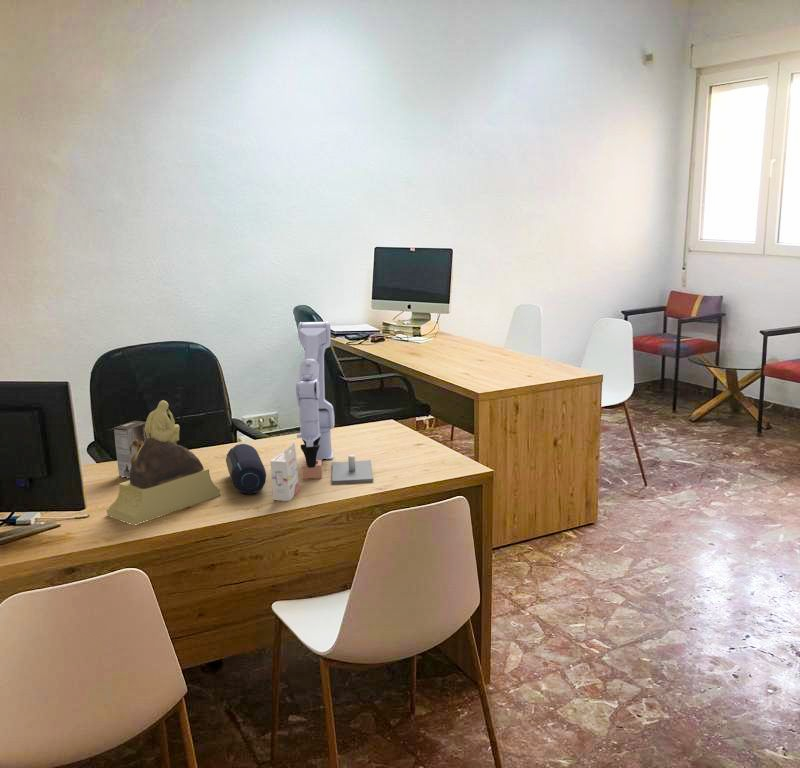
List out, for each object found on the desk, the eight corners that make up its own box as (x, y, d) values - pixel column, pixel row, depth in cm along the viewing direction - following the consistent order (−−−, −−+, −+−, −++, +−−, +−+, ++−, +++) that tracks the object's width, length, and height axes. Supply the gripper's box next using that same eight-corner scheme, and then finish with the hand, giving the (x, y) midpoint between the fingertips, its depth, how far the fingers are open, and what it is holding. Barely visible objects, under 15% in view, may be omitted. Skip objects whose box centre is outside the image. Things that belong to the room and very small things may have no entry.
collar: (303, 473, 254) (303, 460, 253) (322, 472, 255) (321, 459, 254) (303, 479, 249) (302, 466, 248) (321, 478, 249) (321, 465, 248)
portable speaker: (226, 473, 257) (223, 442, 255) (258, 469, 260) (256, 438, 258) (233, 499, 233) (231, 465, 231) (269, 495, 236) (267, 461, 234)
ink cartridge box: (282, 490, 239) (279, 441, 236) (299, 491, 238) (296, 442, 235) (272, 501, 231) (268, 450, 228) (289, 501, 230) (286, 450, 227)
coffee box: (140, 468, 264) (135, 419, 261) (155, 471, 261) (150, 421, 258) (118, 477, 257) (112, 427, 253) (133, 479, 253) (127, 429, 250)
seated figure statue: (192, 487, 245) (183, 388, 239) (220, 495, 237) (211, 393, 231) (107, 516, 224) (94, 408, 218) (134, 526, 216) (122, 415, 210)
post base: (332, 465, 261) (331, 448, 260) (370, 463, 262) (370, 446, 260) (332, 484, 243) (331, 466, 242) (373, 481, 244) (372, 464, 243)
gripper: (297, 414, 255) (299, 457, 258) (294, 426, 241) (297, 471, 243) (320, 413, 255) (322, 455, 258) (319, 425, 241) (321, 470, 244)
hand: (311, 463), depth 251 cm, fingers open, 7 cm apart
